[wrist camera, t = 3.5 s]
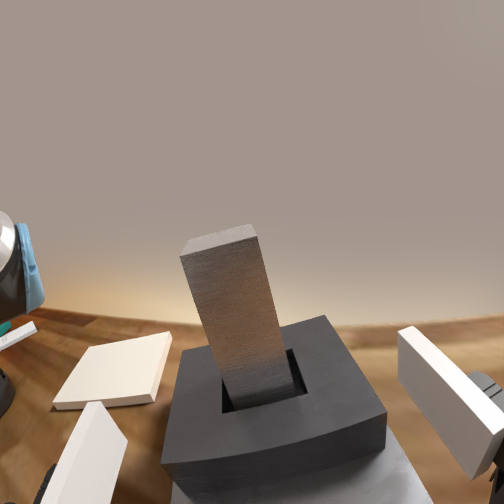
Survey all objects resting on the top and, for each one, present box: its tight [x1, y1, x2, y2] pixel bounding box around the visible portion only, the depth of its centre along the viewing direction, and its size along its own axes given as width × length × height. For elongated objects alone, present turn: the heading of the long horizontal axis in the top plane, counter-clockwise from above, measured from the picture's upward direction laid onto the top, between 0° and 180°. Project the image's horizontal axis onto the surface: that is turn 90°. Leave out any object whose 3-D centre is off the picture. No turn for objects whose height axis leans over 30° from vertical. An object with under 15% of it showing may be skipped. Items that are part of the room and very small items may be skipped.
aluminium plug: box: [180, 223, 296, 411], centre depth 21 cm, size 4×4×15 cm
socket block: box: [160, 315, 433, 504], centre depth 20 cm, size 16×20×5 cm
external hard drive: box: [0, 321, 37, 351], centre depth 55 cm, size 2×8×12 cm
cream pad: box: [52, 331, 172, 410], centre depth 36 cm, size 14×14×1 cm
